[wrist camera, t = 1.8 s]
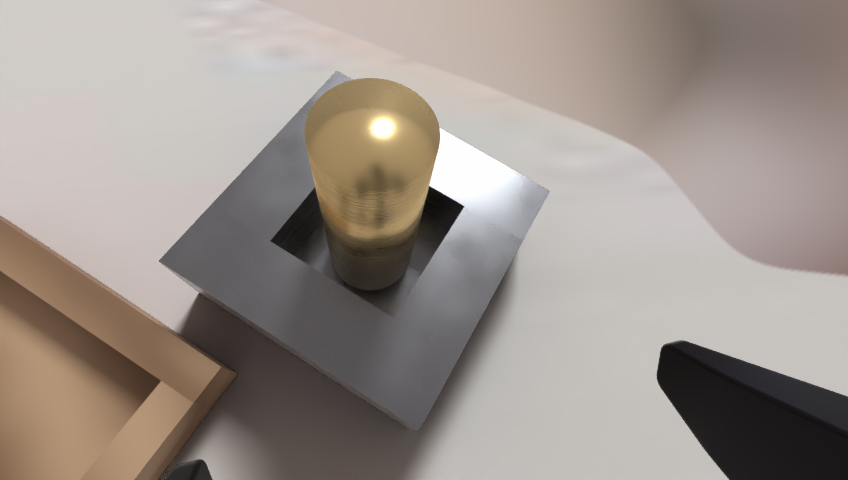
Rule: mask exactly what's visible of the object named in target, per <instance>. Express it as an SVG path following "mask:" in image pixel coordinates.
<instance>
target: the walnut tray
mask: <svg viewBox="0 0 848 480" xmlns="http://www.w3.org/2000/svg"><path fill="white" fill-rule="evenodd" d="M237 374H238V373H236V372H235V371H233V370H232V369H230V368H229V367H227V366H226V365H224V364H223V363H221V362H220V361H218V360H217V359H215V358H214V357H212V356H211V355H209V354H208V353H206V352H205V351H203V350H202V349H200V348H199V347H197V346H196V345H194V344H193V343H191V342H190V341H188V340H187V339H185V338H184V337H182V336H181V335H179V334H178V333H176V332H175V331H173V330H172V329H170V328H169V327H167V326H166V325H164V324H163V323H161V322H160V321H158V320H157V319H155V318H154V317H152V316H151V315H149V314H148V313H146V312H145V311H143V310H142V309H140V308H139V307H137V306H136V305H134V304H133V303H131V302H130V301H128V300H127V299H125V298H124V297H122V296H121V295H119V294H118V293H116V292H115V291H113V290H112V289H110V288H109V287H107V286H106V285H104V284H103V283H101V282H100V281H98V280H97V279H95V278H94V277H92V276H91V275H89V274H88V273H86V272H85V271H83V270H82V269H80V268H79V267H77V266H76V265H74V264H73V263H71V262H70V261H68V260H67V259H65V258H64V257H62V256H61V255H59V254H58V253H56V252H55V251H53V250H52V249H50V248H49V247H47V246H46V245H44V244H43V243H41V242H40V241H38V240H37V239H35V238H34V237H32V236H31V235H29V234H28V233H26V232H25V231H23V230H22V229H20V228H19V227H17V226H16V225H14V224H13V223H11V222H10V221H8V220H7V219H5V218H3V217H1V216H0V480H158V479H159V477H160V476H161V475H162V473H163V472H164V471H165V470H166V468H167V467H168V466H169V464H170V463H171V462H172V460H173V459H174V458H175V456H176V455H177V454H178V452H179V451H180V450H181V448H182V447H183V446H184V444H185V443H186V442H187V440H188V439H189V438H190V436H191V435H192V434H193V432H194V431H195V430H196V428H197V427H198V426H199V424H200V423H201V422H202V420H203V419H204V418H205V416H206V415H207V414H208V412H209V411H210V410H211V409H212V407H213V406H214V405H215V403H216V402H217V401H218V399H219V398H220V397H221V395H222V394H223V393H224V391H225V390H226V389H227V387H228V386H229V385H230V383H231V382H232V381H233V379H234V378H235V377H236V375H237Z"/></svg>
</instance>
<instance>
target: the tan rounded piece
mask: <svg viewBox="0 0 848 480" xmlns="http://www.w3.org/2000/svg"><path fill="white" fill-rule="evenodd" d="M304 134H305V142H306V147H307V151H308V156H309V160H310V165H311V170H312V174H313V179H314V183H315V188H316V192H317V197H318V202H319V206H320V211H321V215H322V220H323V225H324V229H325V234H326V238H327V243H328V248H329V252H330V257H331V261H332V265H333V267H334V269H335V271H336V273H337V274H338V275H339V277H340V278H341V279H342V280H343V281H345V282H346V283H347V284H349V285H351V286H353V287H355V288H358V289H362V290H379V289H383V288H386V287H388V286H390V285H392V284H394V283H395V282H396V281H398V280H399V279H400V278H401V277H402V276H403V274H404V273H405V271H406V270H407V268H408V265H409V262H410V258H411V254H412V250H413V246H414V243H415V239H416V235H417V231H418V227H419V223H420V220H421V216H422V212H423V208H424V204H425V200H426V196H427V193H428V189H429V185H430V181H431V177H432V173H433V169H434V166H435V162H436V158H437V154H438V150H439V146H440V128H439V123H438V121H437V118H436V116H435V114H434V112H433V110H432V109H431V107H430V106H429V105H428V103H427V102H426V101H425V100H424V99H423V98H422V97H421V96H419V95H418V94H417V93H416V92H414V91H412V90H411V89H409V88H407V87H405V86H403V85H401V84H398V83H396V82H393V81H389V80H384V79H376V78H364V79H356V80H351V81H347V82H344V83H341V84H339V85H337V86H335V87H333V88H331V89H329V90H328V91H327V92H325V93H324V94H323V95H322V96H321V97H320V98H318V99H317V101H316V102H315V103H314V104H313V106H312V108H311V109H310V111H309V113H308V116H307V118H306V123H305V132H304Z"/></svg>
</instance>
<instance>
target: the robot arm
mask: <svg viewBox="0 0 848 480" xmlns="http://www.w3.org/2000/svg"><path fill="white" fill-rule="evenodd" d="M657 380H658V383H659V385H660V387H661V389H662V390H663V392H664V393H665V395H666V396H667V397H668V399H669V400H670V402H671V403H672V404H673V406H674V407H675V409H676V410H677V411H678V413H679V414H680V416H681V417H682V419H683V420H684V421H685V423H686V424H687V426H688V427H689V428H690V430H691V431H692V433H693V434H694V436H695V437H696V438H697V440H698V441H699V443H700V444H701V445H702V447H703V448H704V449H705V451H706V452H707V453H708V455H709V456H710V457H711V458H712V460H713V461H714V462H715V463H716V464H717V466H718V467H719V468H720V469H721V470H722V472H723V473H724V474H725V475H726V476H727V478H728V479H729V480H848V397H847V396H845V395H842V394H839V393H836V392H833V391H830V390H827V389H824V388H821V387H818V386H815V385H812V384H809V383H807V382H804V381H801V380H798V379H795V378H792V377H789V376H786V375H783V374H780V373H777V372H774V371H772V370H769V369H766V368H763V367H760V366H757V365H754V364H751V363H748V362H745V361H742V360H739V359H736V358H734V357H731V356H728V355H725V354H722V353H719V352H716V351H713V350H710V349H707V348H704V347H701V346H699V345H696V344H693V343H690V342H687V341H682V340H680V341H675V342H671V343H667V344H665V345H663V347H662V348H661V352H660V357H659V363H658V369H657ZM164 480H212V477H211V475H210V472H209V470H208V467H207V465H206V463H205V462H204V461H203V460H194V461H190V462H186V463H182V464H179V465H177V466H176V467H175V468H174V469H173V470H172V471H171V472H170V473H169V475H168V476H167V477H166V478H165V479H164Z"/></svg>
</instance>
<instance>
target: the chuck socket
mask: <svg viewBox="0 0 848 480" xmlns="http://www.w3.org/2000/svg"><path fill="white" fill-rule="evenodd" d="M351 80H352V79H351V78H349V77H347V76H345V75H344V74H342V73H340V72H338V71H336V72H335V73H334V74H333V75H332V76H331V77H330V78H329V79H328V81H327V82H326V83H325V84H324V85H323V86H322V87H321V88H320V89H319V90H318V91H317V92H316V93H315V94H314V95H313V97H312V98H311V99H310V100H309V101H308V102H307V103H306V104H305V105H304V106H303V107H302V108H301V109H300V110H299V112H298V113H297V114H296V115H295V116H294V117H293V118H292V119H291V120H290V121H289V122H288V123H287V124H286V125H285V126H284V128H283V129H282V130H281V131H280V132H279V133H278V134H277V135H276V136H275V137H274V138H273V139H272V140H271V141H270V143H269V144H268V145H267V146H266V147H265V148H264V149H263V150H262V151H261V152H260V153H259V154H258V155H257V156H256V157H255V159H254V160H253V161H252V162H251V163H250V164H249V165H248V166H247V167H246V168H245V169H244V170H243V171H242V172H241V174H240V175H239V176H238V177H237V178H236V179H235V180H234V181H233V182H232V183H231V184H230V185H229V186H228V187H227V189H226V190H225V191H224V192H223V193H222V194H221V195H220V196H219V197H218V198H217V199H216V200H215V201H214V202H213V203H212V205H211V206H210V207H209V208H208V209H207V210H206V211H205V212H204V213H203V214H202V215H201V216H200V217H199V218H198V220H197V221H196V222H195V223H194V224H193V225H192V226H191V227H190V228H189V229H188V230H187V231H186V232H185V233H184V234H183V236H182V237H181V238H180V239H179V240H178V241H177V242H176V243H175V244H174V245H173V246H172V247H171V248H170V249H169V251H168V252H167V253H166V254H165V255H164V256H163V257H162V258H161V259H160V260H159V262H160V263H162V264H163V265H164V266H165V267H167V268H168V269H169V270H170V271H172V272H173V273H174V274H176V275H177V276H178V277H179V278H181V279H182V280H183V281H185V282H186V283H187V284H188V285H190V286H191V287H192V288H193V289H195V290H196V291H197V292H199V293H200V294H202V295H203V296H205V297H206V298H208V299H209V300H211V301H212V302H214V303H215V304H217V305H218V306H220V307H222V308H223V309H225V310H226V311H228V312H229V313H231V314H232V315H234V316H235V317H237V318H238V319H240V320H242V321H243V322H245V323H246V324H248V325H249V326H251V327H252V328H254V329H255V330H257V331H258V332H260V333H261V334H263V335H265V336H266V337H268V338H269V339H271V340H272V341H274V342H275V343H277V344H278V345H280V346H281V347H283V348H285V349H286V350H288V351H289V352H291V353H292V354H294V355H295V356H297V357H298V358H300V359H301V360H303V361H305V362H306V363H308V364H309V365H311V366H312V367H314V368H315V369H317V370H318V371H320V372H321V373H323V374H324V375H326V376H328V377H329V378H331V379H332V380H334V381H335V382H337V383H338V384H340V385H341V386H343V387H344V388H346V389H348V390H349V391H351V392H352V393H354V394H355V395H357V396H358V397H360V398H361V399H363V400H364V401H366V402H367V403H369V404H371V405H372V406H374V407H375V408H377V409H378V410H380V411H381V412H383V413H384V414H386V415H387V416H389V417H391V418H392V419H394V420H395V421H397V422H398V423H400V424H401V425H403V426H404V427H406V428H407V429H410V430H420V429H421V427H422V425H423V423H424V421H425V419H426V418H427V416H428V414H429V412H430V410H431V408H432V407H433V405H434V403H435V401H436V399H437V397H438V396H439V394H440V392H441V390H442V388H443V386H444V385H445V383H446V381H447V379H448V377H449V375H450V373H451V372H452V370H453V368H454V366H455V364H456V362H457V361H458V359H459V357H460V355H461V353H462V351H463V350H464V348H465V346H466V344H467V342H468V340H469V339H470V337H471V335H472V333H473V331H474V329H475V328H476V326H477V324H478V322H479V320H480V318H481V317H482V315H483V313H484V311H485V309H486V307H487V306H488V304H489V302H490V300H491V298H492V296H493V295H494V293H495V291H496V289H497V287H498V285H499V284H500V282H501V280H502V278H503V276H504V274H505V273H506V271H507V269H508V267H509V265H510V263H511V262H512V260H513V258H514V256H515V254H516V252H517V251H518V249H519V247H520V245H521V243H522V241H523V240H524V238H525V236H526V234H527V232H528V230H529V229H530V227H531V225H532V223H533V221H534V219H535V218H536V216H537V214H538V212H539V210H540V208H541V207H542V205H543V203H544V201H545V199H546V197H547V195H548V194H549V192H550V191H549V190H547V189H546V188H544V187H542V186H540V185H539V184H537V183H535V182H533V181H532V180H530V179H528V178H526V177H524V176H523V175H521V174H519V173H517V172H516V171H514V170H512V169H510V168H508V167H507V166H505V165H503V164H501V163H500V162H498V161H496V160H494V159H492V158H491V157H489V156H487V155H485V154H484V153H482V152H480V151H478V150H477V149H475V148H473V147H471V146H469V145H468V144H466V143H464V142H462V141H461V140H459V139H457V138H455V137H453V136H452V135H450V134H448V133H446V132H445V131H443V130H441V129H440V146H439V150H438V154H437V158H436V162H435V166H434V169H433V173H432V177H431V181H430V185H429V189H428V193H427V196H426V200H425V204H424V208H423V212H422V216H421V220H420V223H419V227H418V231H417V235H416V239H415V243H414V246H413V250H412V254H411V258H410V262H409V265H408V268H407V270H406V271H405V273H404V274H403V276H402V277H401V278H400V279H399V280H398V281H396V282H395V283H394V284H392V285H390V286H388V287H386V288H383V289H379V290H362V289H358V288H355V287H353V286H351V285H349V284H347V283H346V282H345V281H343V280H342V279H341V278H340V277H339V275H338V274H337V273H336V271H335V269H334V267H333V265H332V261H331V257H330V252H329V248H328V243H327V238H326V234H325V229H324V225H323V220H322V215H321V211H320V206H319V202H318V197H317V192H316V188H315V183H314V179H313V174H312V170H311V165H310V160H309V156H308V151H307V147H306V142H305V134H304V132H305V123H306V118H307V116H308V113H309V111H310V109H311V108H312V106H313V104H314V103H315V102H316V101H317V99H318V98H320V97H321V96H322V95H323V94H324V93H325V92H327V91H328V90H329V89H331V88H333V87H335V86H337V85H339V84H341V83H344V82H347V81H351Z"/></svg>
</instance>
